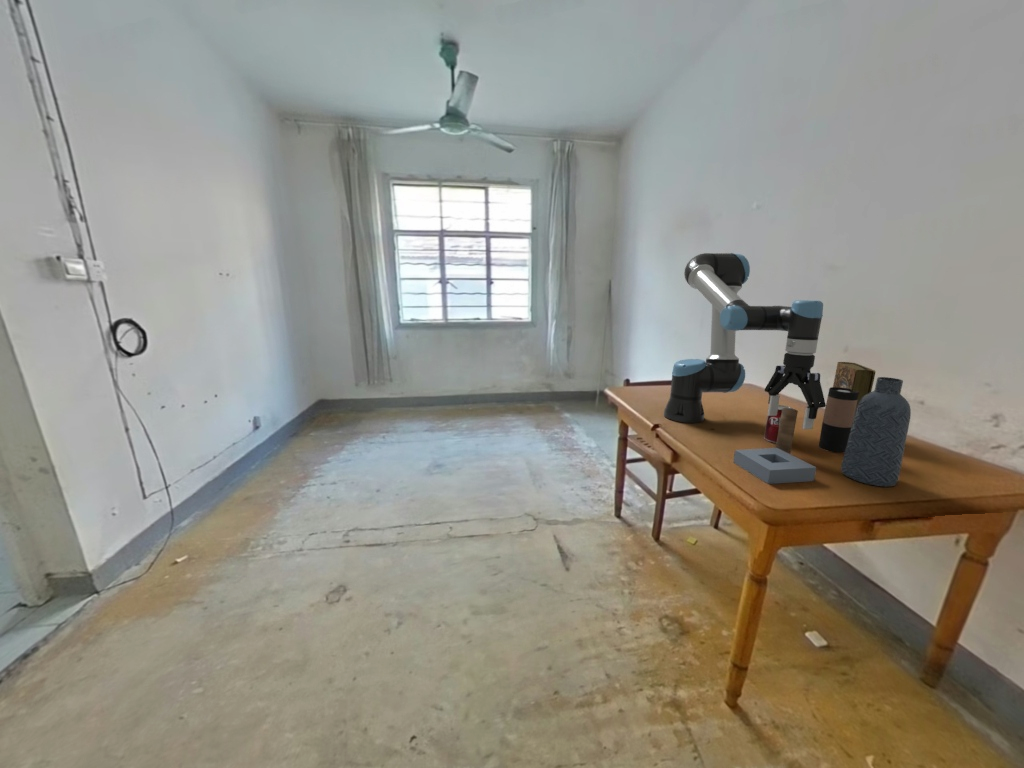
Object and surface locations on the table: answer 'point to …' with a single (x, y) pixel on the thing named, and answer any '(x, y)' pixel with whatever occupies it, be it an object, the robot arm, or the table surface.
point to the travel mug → (838, 419)
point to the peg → (786, 429)
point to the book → (854, 378)
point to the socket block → (774, 465)
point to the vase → (878, 435)
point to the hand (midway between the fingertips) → (788, 421)
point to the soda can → (773, 425)
